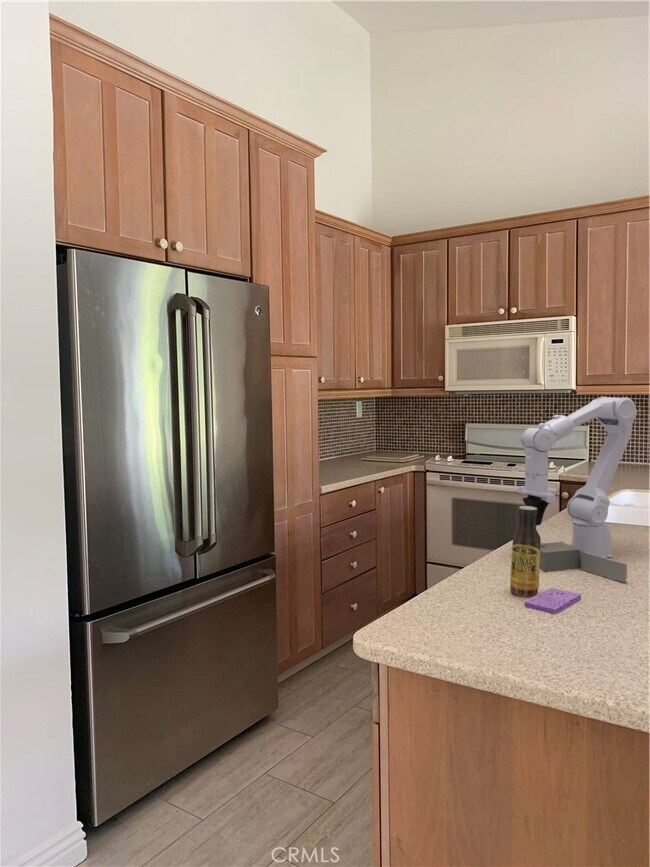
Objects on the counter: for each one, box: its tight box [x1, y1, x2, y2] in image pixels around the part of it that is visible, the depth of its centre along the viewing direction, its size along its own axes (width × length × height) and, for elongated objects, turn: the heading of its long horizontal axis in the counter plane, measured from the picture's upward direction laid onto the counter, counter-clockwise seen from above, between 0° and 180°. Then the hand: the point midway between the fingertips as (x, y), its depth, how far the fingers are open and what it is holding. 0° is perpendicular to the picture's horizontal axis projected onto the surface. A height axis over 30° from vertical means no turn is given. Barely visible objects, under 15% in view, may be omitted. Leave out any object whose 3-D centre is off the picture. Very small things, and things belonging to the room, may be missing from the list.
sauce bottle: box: [509, 505, 541, 598], centre depth 148 cm, size 7×6×20 cm
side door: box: [579, 551, 628, 583], centre depth 161 cm, size 14×1×4 cm, turn 27°
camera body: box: [539, 541, 580, 573], centre depth 170 cm, size 11×8×6 cm
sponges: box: [523, 587, 582, 615], centre depth 143 cm, size 7×13×2 cm, turn 135°
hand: (535, 524), depth 173 cm, fingers closed
